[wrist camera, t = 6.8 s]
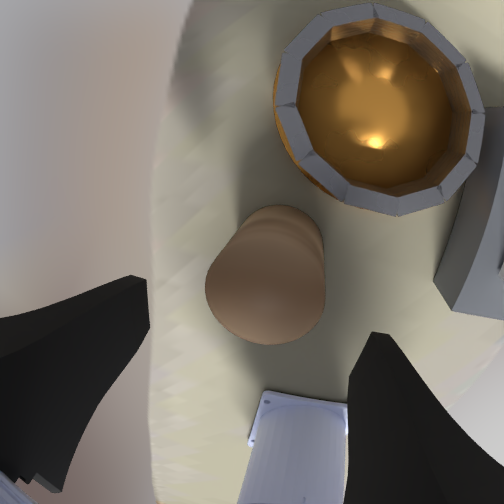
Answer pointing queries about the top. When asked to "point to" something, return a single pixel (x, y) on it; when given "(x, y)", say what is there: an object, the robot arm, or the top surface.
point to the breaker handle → (502, 272)
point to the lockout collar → (378, 109)
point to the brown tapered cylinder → (269, 277)
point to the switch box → (478, 232)
